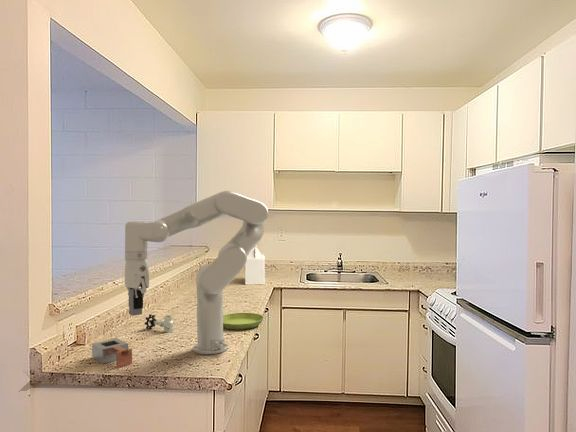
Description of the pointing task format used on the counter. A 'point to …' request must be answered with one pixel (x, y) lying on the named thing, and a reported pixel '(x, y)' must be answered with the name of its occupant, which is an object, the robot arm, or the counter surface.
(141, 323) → the counter surface
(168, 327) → the valve
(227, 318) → the saucer
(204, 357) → the counter surface
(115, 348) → the square sleeve with handle
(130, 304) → the square peg
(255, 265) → the gable box
